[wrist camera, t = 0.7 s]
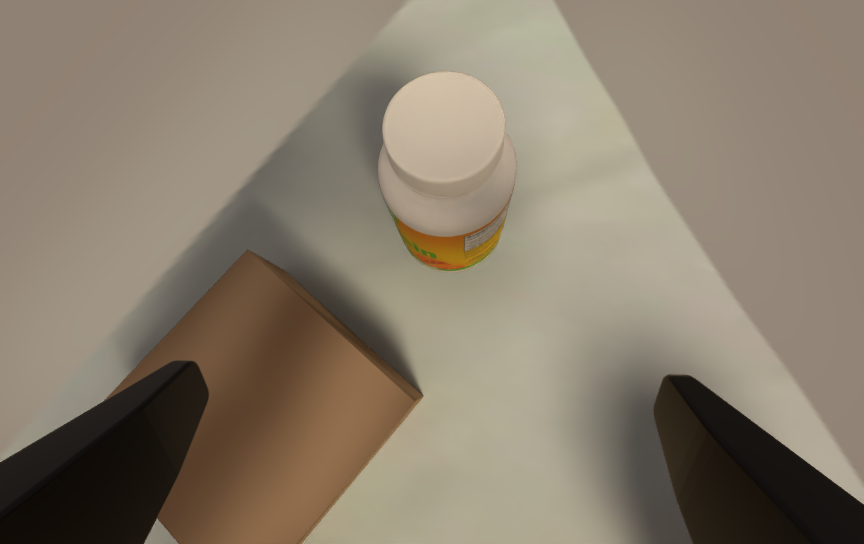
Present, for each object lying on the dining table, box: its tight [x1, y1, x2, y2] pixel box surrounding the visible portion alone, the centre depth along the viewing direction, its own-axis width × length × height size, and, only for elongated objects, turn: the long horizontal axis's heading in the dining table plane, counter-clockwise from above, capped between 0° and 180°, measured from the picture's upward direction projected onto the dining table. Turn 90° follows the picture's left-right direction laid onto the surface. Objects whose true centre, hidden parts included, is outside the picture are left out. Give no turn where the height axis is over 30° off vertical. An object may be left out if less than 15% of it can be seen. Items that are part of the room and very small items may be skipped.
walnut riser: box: [104, 250, 423, 544], centre depth 20 cm, size 10×10×4 cm
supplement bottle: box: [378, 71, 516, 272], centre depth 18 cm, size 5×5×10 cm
